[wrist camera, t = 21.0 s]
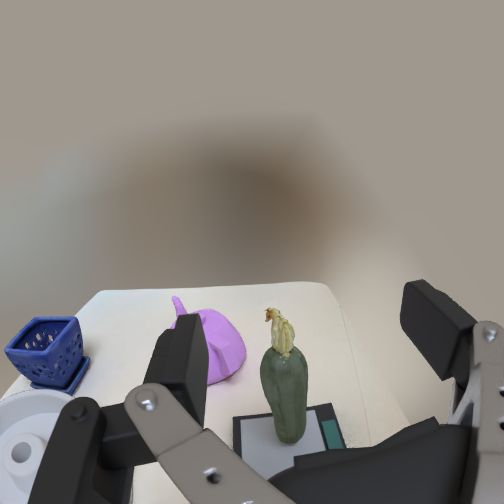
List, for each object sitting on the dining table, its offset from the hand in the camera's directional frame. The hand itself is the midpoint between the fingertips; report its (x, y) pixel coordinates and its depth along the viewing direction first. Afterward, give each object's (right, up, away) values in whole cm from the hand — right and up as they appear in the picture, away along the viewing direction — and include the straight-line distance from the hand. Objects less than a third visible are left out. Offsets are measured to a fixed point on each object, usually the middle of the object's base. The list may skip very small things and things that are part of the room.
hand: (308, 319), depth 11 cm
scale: (+3, -24, +21) cm, 32 cm away
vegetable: (+2, -21, +20) cm, 29 cm away
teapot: (-10, -18, +41) cm, 46 cm away
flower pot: (-41, -24, +36) cm, 60 cm away
